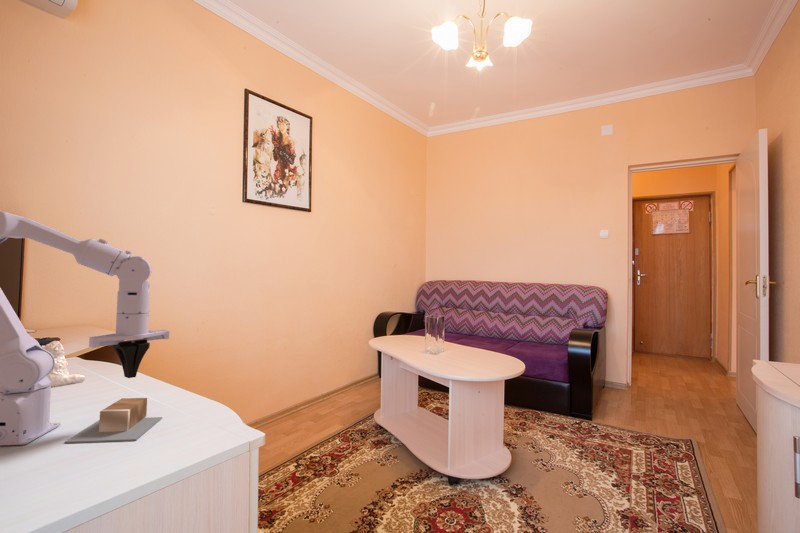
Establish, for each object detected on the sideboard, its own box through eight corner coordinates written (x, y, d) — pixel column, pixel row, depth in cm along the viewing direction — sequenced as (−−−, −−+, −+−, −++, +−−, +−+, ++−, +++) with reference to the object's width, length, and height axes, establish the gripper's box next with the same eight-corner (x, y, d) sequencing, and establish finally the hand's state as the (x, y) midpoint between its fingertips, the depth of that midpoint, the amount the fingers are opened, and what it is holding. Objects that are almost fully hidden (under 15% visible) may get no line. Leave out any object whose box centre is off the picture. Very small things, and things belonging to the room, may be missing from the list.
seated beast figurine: (86, 381, 110) (88, 339, 111) (54, 390, 102) (57, 344, 102) (59, 378, 112) (61, 337, 112) (25, 387, 104) (27, 341, 104)
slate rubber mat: (136, 440, 74) (136, 439, 74) (64, 443, 72) (64, 441, 72) (162, 418, 85) (162, 417, 85) (100, 420, 83) (100, 418, 83)
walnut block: (146, 416, 85) (127, 431, 77) (121, 417, 84) (99, 431, 77) (147, 397, 85) (128, 410, 77) (121, 398, 85) (100, 411, 77)
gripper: (159, 309, 92) (156, 367, 91) (84, 313, 79) (80, 380, 79) (175, 311, 88) (172, 372, 88) (99, 316, 76) (95, 387, 75)
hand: (130, 376), depth 83 cm, fingers closed
